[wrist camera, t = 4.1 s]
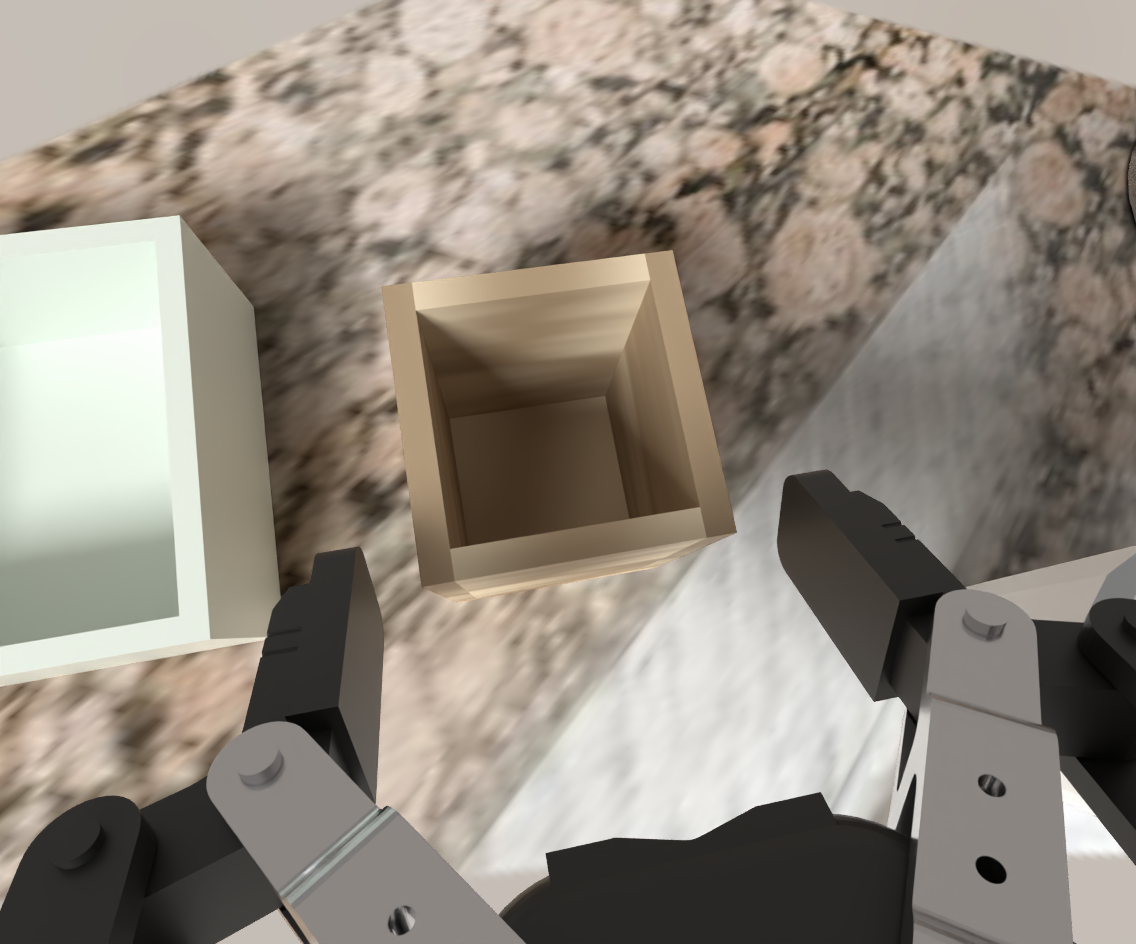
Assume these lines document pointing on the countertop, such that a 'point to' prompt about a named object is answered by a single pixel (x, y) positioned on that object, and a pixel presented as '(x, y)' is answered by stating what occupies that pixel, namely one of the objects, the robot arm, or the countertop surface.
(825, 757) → the countertop surface
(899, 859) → the robot arm
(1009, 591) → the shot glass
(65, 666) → the sage crate
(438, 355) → the birch crate
